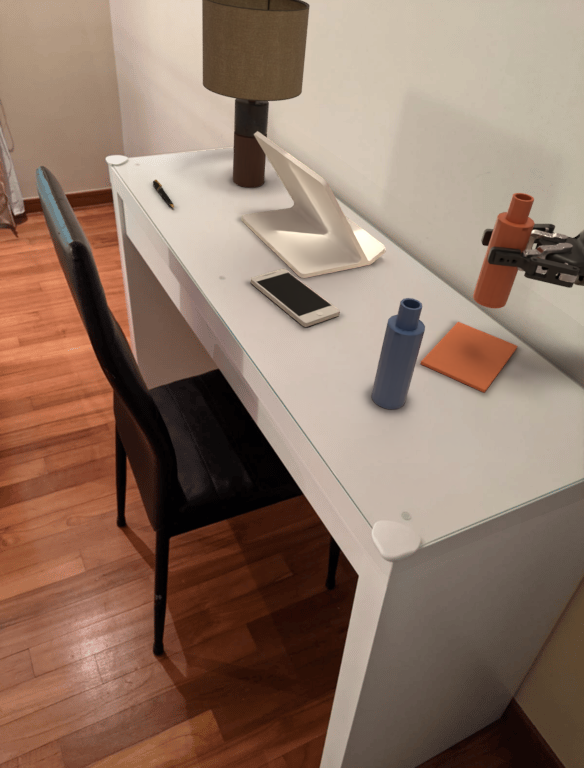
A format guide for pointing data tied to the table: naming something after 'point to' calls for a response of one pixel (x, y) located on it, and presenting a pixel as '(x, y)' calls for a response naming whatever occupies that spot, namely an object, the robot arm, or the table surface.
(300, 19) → the lamp
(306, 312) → the smartphone
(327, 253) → the tablet stand
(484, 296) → the terracotta bottle
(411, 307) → the blue bottle
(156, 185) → the fountain pen
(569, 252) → the robot arm
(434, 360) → the terracotta mat
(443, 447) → the table surface
